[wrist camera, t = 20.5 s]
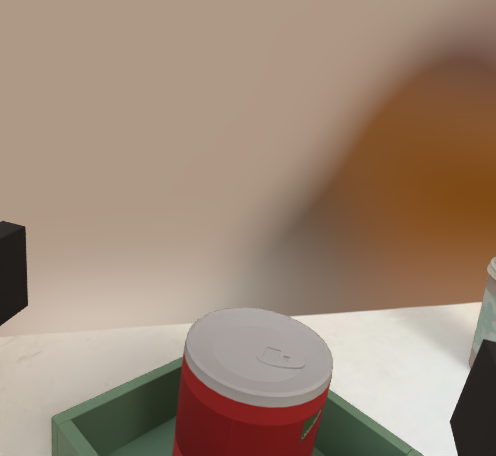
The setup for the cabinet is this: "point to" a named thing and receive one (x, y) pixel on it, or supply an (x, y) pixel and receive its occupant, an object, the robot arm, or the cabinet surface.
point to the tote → (164, 420)
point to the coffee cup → (486, 314)
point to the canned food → (251, 386)
